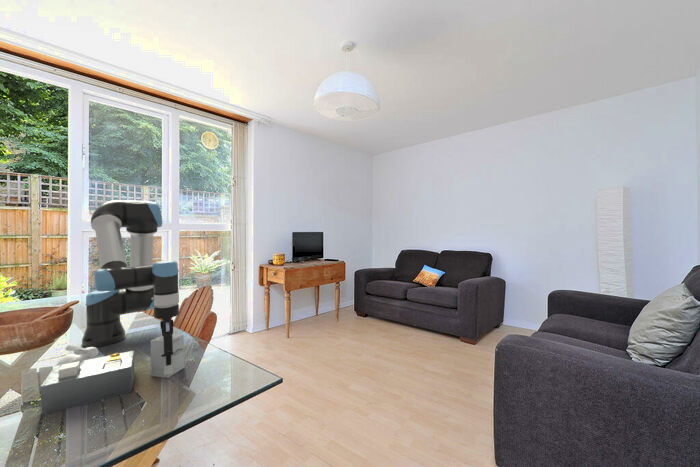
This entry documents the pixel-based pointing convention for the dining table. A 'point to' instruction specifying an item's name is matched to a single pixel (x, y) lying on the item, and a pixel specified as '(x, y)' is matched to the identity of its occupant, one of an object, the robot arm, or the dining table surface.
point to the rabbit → (78, 354)
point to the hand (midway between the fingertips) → (168, 367)
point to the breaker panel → (88, 383)
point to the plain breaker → (69, 369)
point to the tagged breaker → (112, 364)
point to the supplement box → (158, 361)
